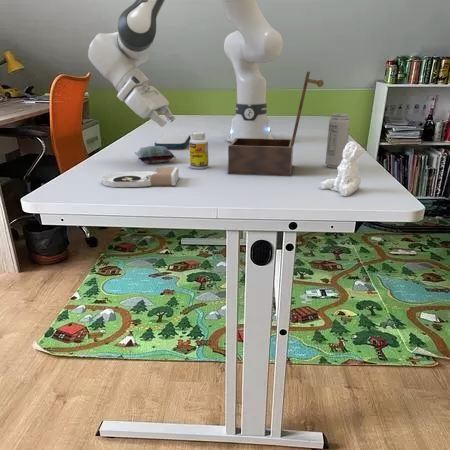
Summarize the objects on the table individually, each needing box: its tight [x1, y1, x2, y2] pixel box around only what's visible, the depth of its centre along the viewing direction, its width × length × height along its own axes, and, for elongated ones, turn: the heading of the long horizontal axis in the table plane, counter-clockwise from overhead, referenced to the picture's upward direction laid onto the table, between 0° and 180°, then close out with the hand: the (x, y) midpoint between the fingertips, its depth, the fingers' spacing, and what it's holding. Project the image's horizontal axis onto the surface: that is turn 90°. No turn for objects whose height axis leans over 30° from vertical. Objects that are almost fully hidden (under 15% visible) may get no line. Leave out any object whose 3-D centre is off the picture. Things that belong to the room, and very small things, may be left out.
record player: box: [101, 166, 180, 188], centre depth 123 cm, size 12×3×20 cm
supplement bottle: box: [188, 131, 209, 170], centre depth 137 cm, size 6×6×10 cm
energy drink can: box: [324, 113, 351, 169], centre depth 137 cm, size 6×6×15 cm
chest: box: [227, 138, 294, 177], centre depth 135 cm, size 18×14×8 cm
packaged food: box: [133, 145, 176, 164], centre depth 146 cm, size 9×12×5 cm
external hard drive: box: [154, 133, 191, 149], centre depth 175 cm, size 24×12×2 cm, turn 178°
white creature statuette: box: [320, 140, 366, 197], centre depth 113 cm, size 10×9×12 cm
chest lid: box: [291, 69, 325, 147], centre depth 127 cm, size 19×14×5 cm
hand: (168, 122), depth 135 cm, fingers open, 8 cm apart
